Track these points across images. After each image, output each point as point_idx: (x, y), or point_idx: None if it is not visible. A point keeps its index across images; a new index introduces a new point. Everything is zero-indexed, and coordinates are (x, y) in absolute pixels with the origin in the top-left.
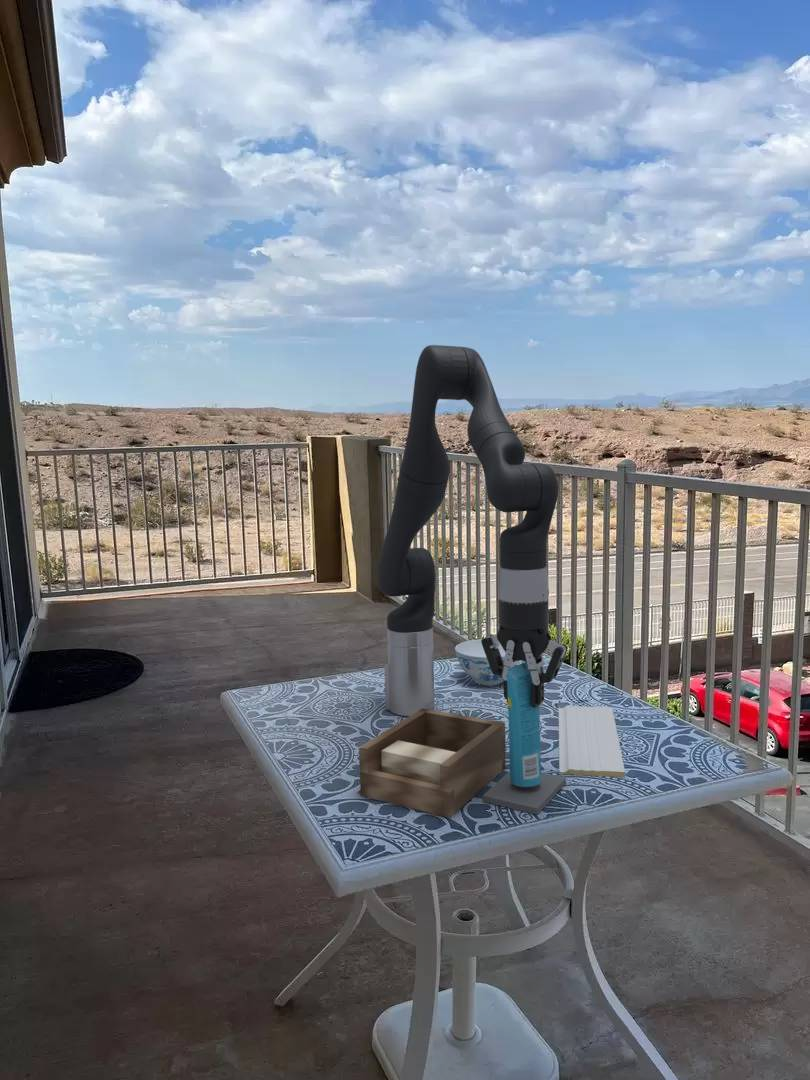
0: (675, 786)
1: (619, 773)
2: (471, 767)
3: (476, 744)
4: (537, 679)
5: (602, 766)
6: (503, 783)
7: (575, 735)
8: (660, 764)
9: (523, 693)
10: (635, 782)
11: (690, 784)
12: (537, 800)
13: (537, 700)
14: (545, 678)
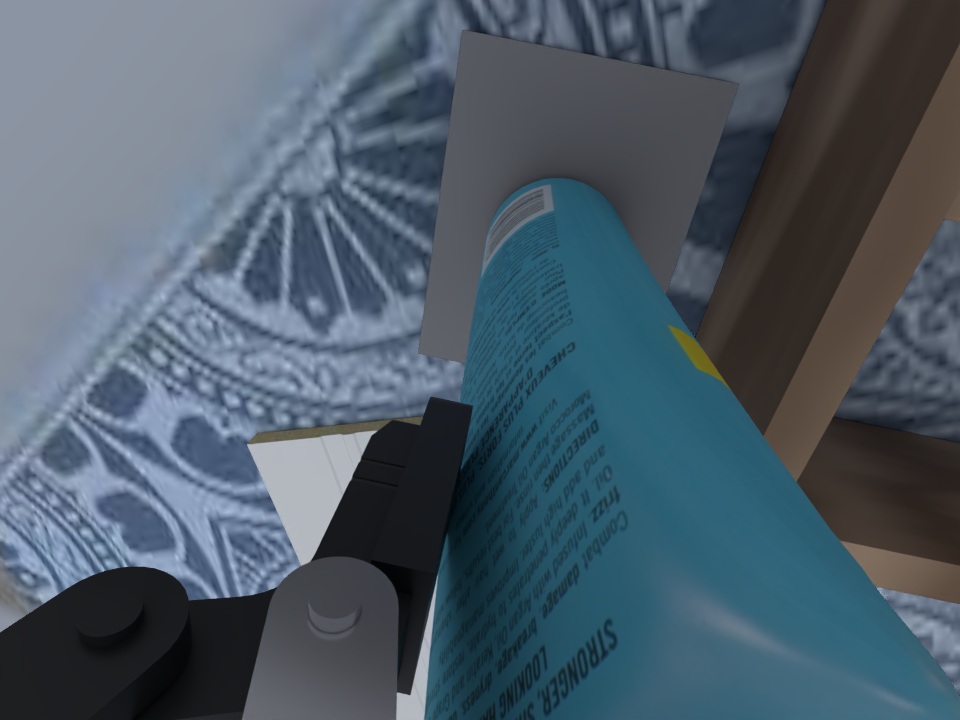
0: (99, 404)
1: (266, 438)
2: (852, 124)
3: (870, 233)
4: (300, 631)
5: (325, 466)
6: (653, 242)
7: None
8: (190, 529)
9: (545, 476)
10: (213, 405)
11: (68, 426)
12: (479, 115)
13: (404, 447)
14: (125, 625)
